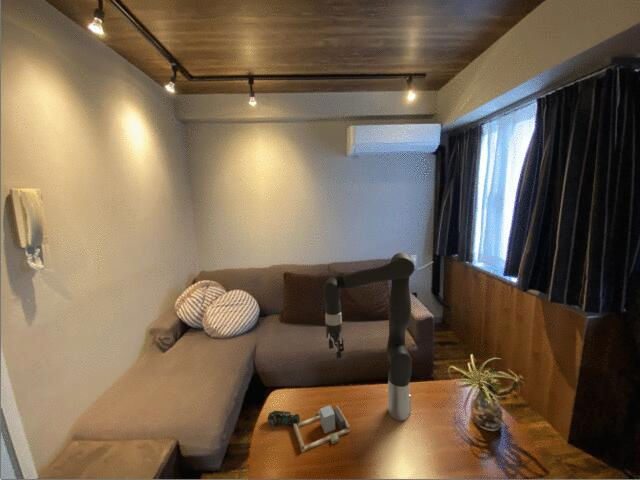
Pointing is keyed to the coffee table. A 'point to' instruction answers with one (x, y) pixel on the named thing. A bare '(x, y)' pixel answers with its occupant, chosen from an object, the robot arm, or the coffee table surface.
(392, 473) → the coffee table surface
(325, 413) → the grey rectangular block
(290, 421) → the stun grenade
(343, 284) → the robot arm
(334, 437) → the beam frame
